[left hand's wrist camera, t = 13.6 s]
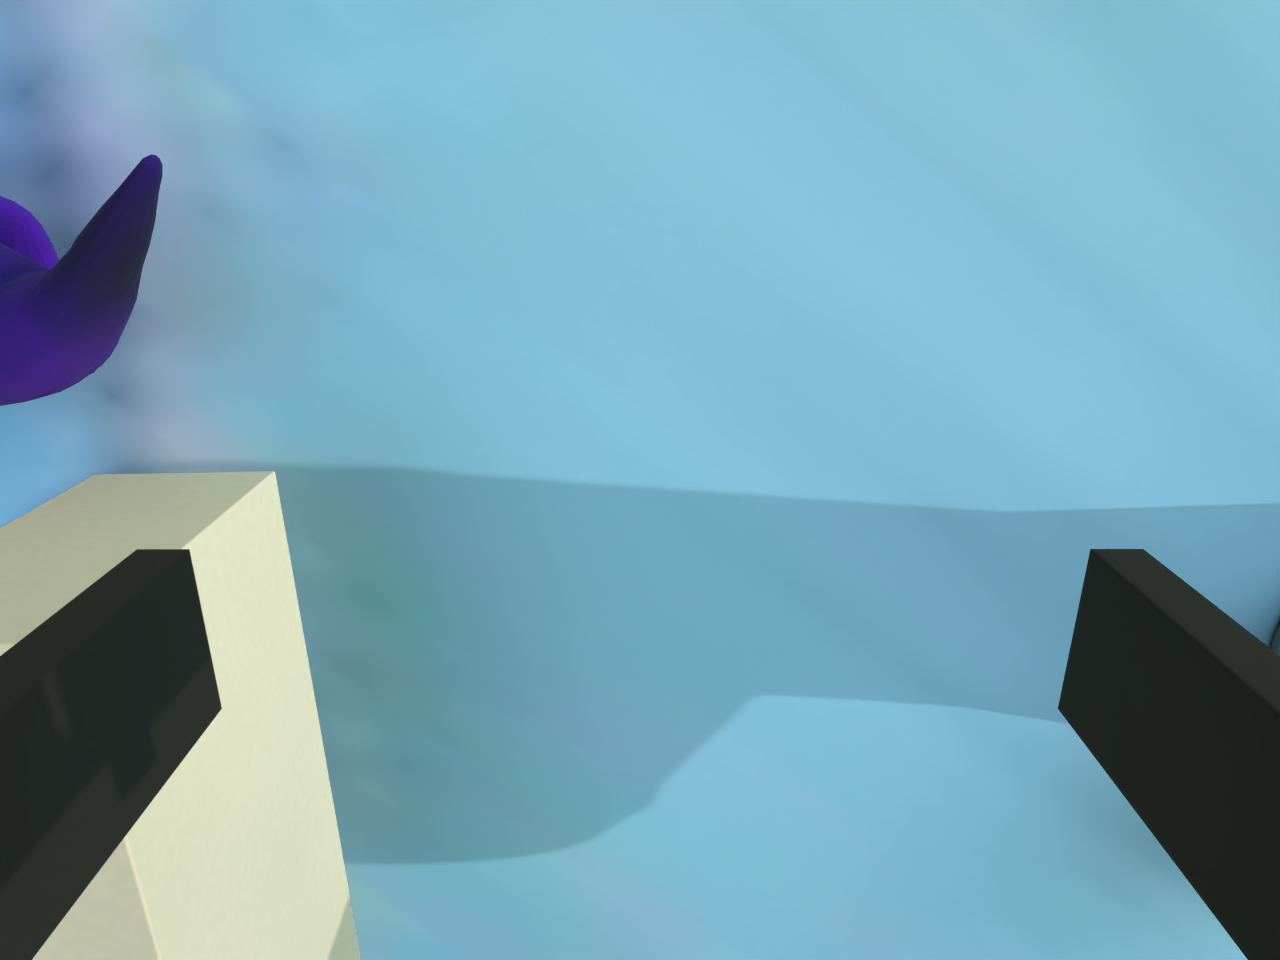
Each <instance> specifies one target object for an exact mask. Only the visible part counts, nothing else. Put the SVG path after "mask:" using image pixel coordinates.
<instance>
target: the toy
mask: <svg viewBox="0 0 1280 960" xmlns="http://www.w3.org/2000/svg"><path fill="white" fill-rule="evenodd" d="M161 179H162V163H161V161H160V159H159V158H158V157H157V156H156V155H149V156H147V157H145V158H143V159H142V160H141V161H140V162H139V164H138V165H137V166H136V167H135V169H134V170H133V171H132V172H131V173H130V175H129V176H128V177H127V178H126V180H125V181H124V182H123V183H122V184H121V186H120V187H119V188H118V189H117V190H116V191H115V192H114V193H113V195H112V196H111V197H110V198H109V199H108V200H107V201H106V202H105V203H104V205H103V206H102V207H101V208H100V209H99V210H98V212H97V213H96V214H95V216H94V217H93V218H92V219H91V221H90V222H89V223H88V224H87V226H86V227H85V228H84V229H83V231H82V232H81V233H80V234H79V236H78V237H77V238H76V240H75V242H74V244H73V245H72V247H71V249H70V250H69V251H68V252H67V253H66V254H65V255H64V256H63V257H62V259H61V260H60V261H59V259H58V257H57V255H56V252H55V250H54V247H53V245H52V243H51V241H50V239H49V238H48V236H47V234H46V232H45V230H44V229H43V227H42V225H41V224H40V223H39V222H38V221H37V219H36V218H35V217H34V216H33V215H32V214H31V213H30V212H29V211H27V210H26V209H24V208H23V207H21V206H20V205H19V204H17V203H16V202H14V201H11V200H9V199H6V198H3V197H1V196H0V406H1V405H8V404H14V403H20V402H25V401H29V400H33V399H37V398H41V397H44V396H47V395H51V394H54V393H57V392H60V391H63V390H65V389H67V388H69V387H71V386H73V385H74V384H76V383H78V382H80V381H81V380H83V379H84V378H85V377H87V376H88V375H89V374H92V373H94V372H95V371H96V369H97V368H98V367H100V366H101V365H102V364H103V363H104V362H105V361H106V360H107V359H108V357H109V356H110V355H111V354H112V352H113V350H114V349H115V347H116V345H117V344H118V341H119V338H120V336H121V334H122V332H123V330H124V328H125V326H126V323H127V321H128V319H129V317H130V315H131V312H132V310H133V307H134V304H135V302H136V299H137V294H138V288H139V283H140V277H141V272H142V267H143V264H144V260H145V257H146V254H147V251H148V248H149V245H150V241H151V236H152V232H153V228H154V223H155V217H156V209H157V202H158V194H159V188H160V184H161Z"/></svg>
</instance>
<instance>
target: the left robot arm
mask: <svg viewBox="0 0 1280 960" xmlns="http://www.w3.org/2000/svg"><path fill="white" fill-rule="evenodd" d="M221 709H222V706H221V701H220V696H219V692H218V687H217V682H216V677H215V672H214V667H213V662H212V657H211V652H210V648H209V643H208V638H207V633H206V628H205V623H204V618H203V613H202V608H201V603H200V599H199V594H198V589H197V584H196V579H195V574H194V569H193V564H192V559H191V554H190V550H189V549H136V550H135V551H134V552H133V553H131V554H130V555H129V556H128V557H126V558H125V559H124V560H122V561H121V562H120V563H119V564H117V565H116V566H115V567H113V568H112V569H111V570H110V571H108V572H107V573H106V574H105V575H103V576H102V577H101V578H99V579H98V580H97V581H96V582H94V583H93V584H92V585H90V586H89V587H88V588H87V589H85V590H84V591H83V592H81V593H80V594H79V595H78V596H76V597H75V598H74V599H73V600H71V601H70V602H69V603H67V604H66V605H65V606H64V607H62V608H61V609H60V610H58V611H57V612H56V613H55V614H53V615H52V616H51V617H50V618H48V619H47V620H46V621H44V622H43V623H42V624H41V625H39V626H38V627H37V628H35V629H34V630H33V631H32V632H30V633H29V634H28V635H26V636H25V637H24V638H23V639H21V640H20V641H19V642H18V643H16V644H15V645H14V646H12V647H11V648H10V649H9V650H7V651H6V652H5V653H3V654H2V655H1V656H0V960H32V959H33V958H34V956H35V955H36V954H37V952H38V951H39V950H40V948H41V947H42V946H43V944H44V943H45V942H46V941H47V939H48V938H49V937H50V935H51V934H52V933H53V931H54V930H55V929H56V927H57V926H58V925H59V923H60V922H61V921H62V919H63V918H64V917H65V915H66V914H67V913H68V911H69V910H70V909H71V907H72V906H73V905H74V903H75V902H76V901H77V900H78V898H79V897H80V896H81V894H82V893H83V892H84V890H85V889H86V888H87V886H88V885H89V884H90V882H91V881H92V880H93V878H94V877H95V876H96V874H97V873H98V872H99V870H100V869H101V868H102V866H103V865H104V864H105V863H106V861H107V860H108V859H109V857H110V856H111V855H112V853H113V852H114V851H115V849H116V848H117V847H118V845H119V844H120V843H121V841H122V840H123V839H124V837H125V836H126V835H127V833H128V832H129V831H130V829H131V828H132V827H133V825H134V824H135V823H136V822H137V820H138V819H139V818H140V816H141V815H142V814H143V812H144V811H145V810H146V808H147V807H148V806H149V804H150V803H151V802H152V800H153V799H154V798H155V796H156V795H157V794H158V792H159V791H160V790H161V788H162V787H163V786H164V785H165V783H166V782H167V781H168V779H169V778H170V777H171V775H172V774H173V773H174V771H175V770H176V769H177V767H178V766H179V765H180V763H181V762H182V761H183V759H184V758H185V757H186V755H187V754H188V753H189V751H190V750H191V749H192V747H193V746H194V745H195V744H196V742H197V741H198V740H199V738H200V737H201V736H202V734H203V733H204V732H205V730H206V729H207V728H208V726H209V725H210V724H211V722H212V721H213V720H214V718H215V717H216V716H217V714H218V713H219V712H220V710H221ZM1058 709H1059V710H1060V712H1061V713H1062V714H1063V716H1064V717H1065V718H1066V720H1067V721H1068V722H1069V724H1070V725H1071V726H1072V728H1073V729H1074V730H1075V732H1076V733H1077V734H1078V736H1079V737H1080V738H1081V740H1082V741H1083V742H1084V744H1085V745H1086V746H1087V747H1088V749H1089V750H1090V751H1091V753H1092V754H1093V755H1094V757H1095V758H1096V759H1097V761H1098V762H1099V763H1100V765H1101V766H1102V767H1103V769H1104V770H1105V771H1106V773H1107V774H1108V775H1109V777H1110V778H1111V779H1112V781H1113V782H1114V783H1115V785H1116V786H1117V787H1118V788H1119V790H1120V791H1121V792H1122V794H1123V795H1124V796H1125V798H1126V799H1127V800H1128V802H1129V803H1130V804H1131V806H1132V807H1133V808H1134V810H1135V811H1136V812H1137V814H1138V815H1139V816H1140V818H1141V819H1142V820H1143V822H1144V823H1145V824H1146V825H1147V827H1148V828H1149V829H1150V831H1151V832H1152V833H1153V835H1154V836H1155V837H1156V839H1157V840H1158V841H1159V843H1160V844H1161V845H1162V847H1163V848H1164V849H1165V851H1166V852H1167V853H1168V855H1169V856H1170V857H1171V859H1172V860H1173V861H1174V863H1175V864H1176V865H1177V866H1178V868H1179V869H1180V870H1181V872H1182V873H1183V874H1184V876H1185V877H1186V878H1187V880H1188V881H1189V882H1190V884H1191V885H1192V886H1193V888H1194V889H1195V890H1196V892H1197V893H1198V894H1199V896H1200V897H1201V898H1202V900H1203V901H1204V902H1205V904H1206V905H1207V906H1208V907H1209V909H1210V910H1211V911H1212V913H1213V914H1214V915H1215V917H1216V918H1217V919H1218V921H1219V922H1220V923H1221V925H1222V926H1223V927H1224V929H1225V930H1226V931H1227V933H1228V934H1229V935H1230V937H1231V938H1232V939H1233V941H1234V942H1235V943H1236V944H1237V946H1238V947H1239V948H1240V950H1241V951H1242V952H1243V954H1244V955H1245V956H1246V958H1247V959H1248V960H1280V625H1279V627H1278V629H1277V632H1276V634H1275V637H1274V639H1273V642H1272V646H1271V649H1270V648H1269V647H1268V646H1266V645H1265V644H1264V643H1262V642H1261V641H1260V640H1259V639H1257V638H1256V637H1255V636H1254V635H1252V634H1251V633H1250V632H1248V631H1247V630H1246V629H1245V628H1243V627H1242V626H1241V625H1239V624H1238V623H1237V622H1236V621H1234V620H1233V619H1232V618H1230V617H1229V616H1228V615H1227V614H1225V613H1224V612H1223V611H1222V610H1220V609H1219V608H1218V607H1216V606H1215V605H1214V604H1213V603H1211V602H1210V601H1209V600H1207V599H1206V598H1205V597H1204V596H1202V595H1201V594H1200V593H1199V592H1197V591H1196V590H1195V589H1193V588H1192V587H1191V586H1190V585H1188V584H1187V583H1186V582H1184V581H1183V580H1182V579H1181V578H1179V577H1178V576H1177V575H1175V574H1174V573H1173V572H1172V571H1170V570H1169V569H1168V568H1167V567H1165V566H1164V565H1163V564H1161V563H1160V562H1159V561H1158V560H1156V559H1155V558H1154V557H1152V556H1151V555H1150V554H1149V553H1147V552H1146V551H1145V550H1144V549H1091V550H1090V554H1089V559H1088V564H1087V569H1086V574H1085V579H1084V584H1083V589H1082V594H1081V598H1080V603H1079V608H1078V613H1077V618H1076V623H1075V628H1074V633H1073V638H1072V643H1071V647H1070V652H1069V657H1068V662H1067V667H1066V672H1065V677H1064V682H1063V687H1062V692H1061V696H1060V701H1059V706H1058Z"/></svg>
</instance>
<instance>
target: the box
mask: <svg viewBox="0 0 1280 960" xmlns="http://www.w3.org/2000/svg"><path fill="white" fill-rule="evenodd" d="M136 549H189V550H190V554H191V559H192V564H193V569H194V574H195V579H196V584H197V589H198V594H199V599H200V603H201V608H202V613H203V618H204V623H205V628H206V633H207V638H208V643H209V648H210V652H211V657H212V662H213V667H214V672H215V677H216V682H217V687H218V692H219V696H220V701H221V706H222V709H221V710H220V712H219V713H218V714H217V716H216V717H215V718H214V720H213V721H212V722H211V724H210V725H209V726H208V728H207V729H206V730H205V732H204V733H203V734H202V736H201V737H200V738H199V740H198V741H197V742H196V744H195V745H194V746H193V747H192V749H191V750H190V751H189V753H188V754H187V755H186V757H185V758H184V759H183V761H182V762H181V763H180V765H179V766H178V767H177V769H176V770H175V771H174V773H173V774H172V775H171V777H170V778H169V779H168V781H167V782H166V783H165V785H164V786H163V787H162V788H161V790H160V791H159V792H158V794H157V795H156V796H155V798H154V799H153V800H152V802H151V803H150V804H149V806H148V807H147V808H146V810H145V811H144V812H143V814H142V815H141V816H140V818H139V819H138V820H137V822H136V823H135V824H134V825H133V827H132V828H131V829H130V831H129V832H128V833H127V835H126V836H125V837H124V839H123V840H122V841H121V843H120V844H119V845H118V847H117V848H116V849H115V851H114V852H113V853H112V855H111V856H110V857H109V859H108V860H107V861H106V863H105V864H104V865H103V866H102V868H101V869H100V870H99V872H98V873H97V874H96V876H95V877H94V878H93V880H92V881H91V882H90V884H89V885H88V886H87V888H86V889H85V890H84V892H83V893H82V894H81V896H80V897H79V898H78V900H77V901H76V902H75V903H74V905H73V906H72V907H71V909H70V910H69V911H68V913H67V914H66V915H65V917H64V918H63V919H62V921H61V922H60V923H59V925H58V926H57V927H56V929H55V930H54V931H53V933H52V934H51V935H50V937H49V938H48V939H47V941H46V942H45V943H44V944H43V946H42V947H41V948H40V950H39V951H38V952H37V954H36V955H35V956H34V958H33V959H32V960H361V956H360V950H359V945H358V939H357V934H356V928H355V922H354V917H353V911H352V905H351V900H350V894H349V888H348V883H347V877H346V871H345V866H344V860H343V854H342V849H341V843H340V837H339V832H338V826H337V820H336V815H335V809H334V803H333V798H332V792H331V786H330V781H329V775H328V769H327V764H326V758H325V752H324V747H323V741H322V735H321V730H320V724H319V718H318V713H317V707H316V701H315V696H314V690H313V684H312V679H311V673H310V667H309V662H308V656H307V650H306V645H305V639H304V633H303V628H302V622H301V616H300V611H299V605H298V599H297V594H296V588H295V582H294V577H293V571H292V565H291V560H290V554H289V548H288V543H287V537H286V531H285V526H284V520H283V514H282V509H281V503H280V497H279V492H278V486H277V480H276V475H275V472H274V471H253V472H201V473H149V474H97V475H92V476H91V477H89V478H87V479H85V480H84V481H82V482H80V483H78V484H77V485H75V486H73V487H71V488H70V489H68V490H66V491H64V492H63V493H61V494H59V495H57V496H55V497H54V498H52V499H50V500H48V501H47V502H45V503H43V504H41V505H40V506H38V507H36V508H34V509H33V510H31V511H29V512H27V513H26V514H24V515H22V516H20V517H19V518H17V519H15V520H13V521H12V522H10V523H8V524H6V525H5V526H3V527H1V528H0V656H1V655H2V654H3V653H5V652H6V651H7V650H9V649H10V648H11V647H12V646H14V645H15V644H16V643H18V642H19V641H20V640H21V639H23V638H24V637H25V636H26V635H28V634H29V633H30V632H32V631H33V630H34V629H35V628H37V627H38V626H39V625H41V624H42V623H43V622H44V621H46V620H47V619H48V618H50V617H51V616H52V615H53V614H55V613H56V612H57V611H58V610H60V609H61V608H62V607H64V606H65V605H66V604H67V603H69V602H70V601H71V600H73V599H74V598H75V597H76V596H78V595H79V594H80V593H81V592H83V591H84V590H85V589H87V588H88V587H89V586H90V585H92V584H93V583H94V582H96V581H97V580H98V579H99V578H101V577H102V576H103V575H105V574H106V573H107V572H108V571H110V570H111V569H112V568H113V567H115V566H116V565H117V564H119V563H120V562H121V561H122V560H124V559H125V558H126V557H128V556H129V555H130V554H131V553H133V552H134V551H135V550H136Z"/></svg>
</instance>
